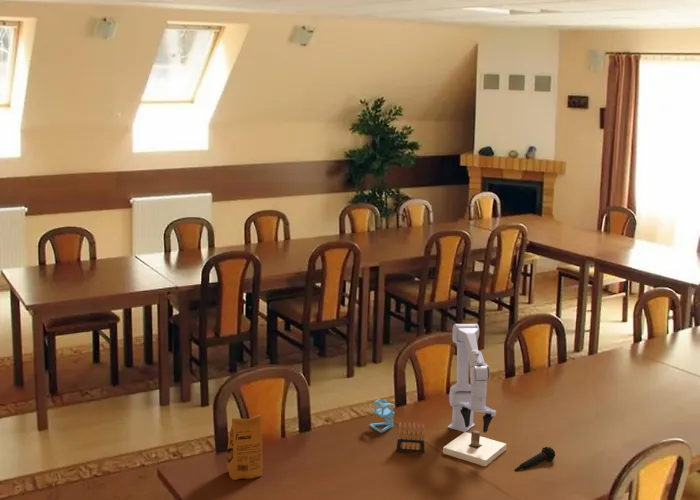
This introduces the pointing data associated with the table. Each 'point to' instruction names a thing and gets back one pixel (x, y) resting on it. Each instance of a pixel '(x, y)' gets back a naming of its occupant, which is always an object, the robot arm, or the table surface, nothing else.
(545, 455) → the microphone
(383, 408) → the light blue bar frame
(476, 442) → the walnut peg
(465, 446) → the cream board
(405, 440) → the ammunition clip
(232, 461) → the coffee package
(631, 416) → the table surface
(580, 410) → the table surface
